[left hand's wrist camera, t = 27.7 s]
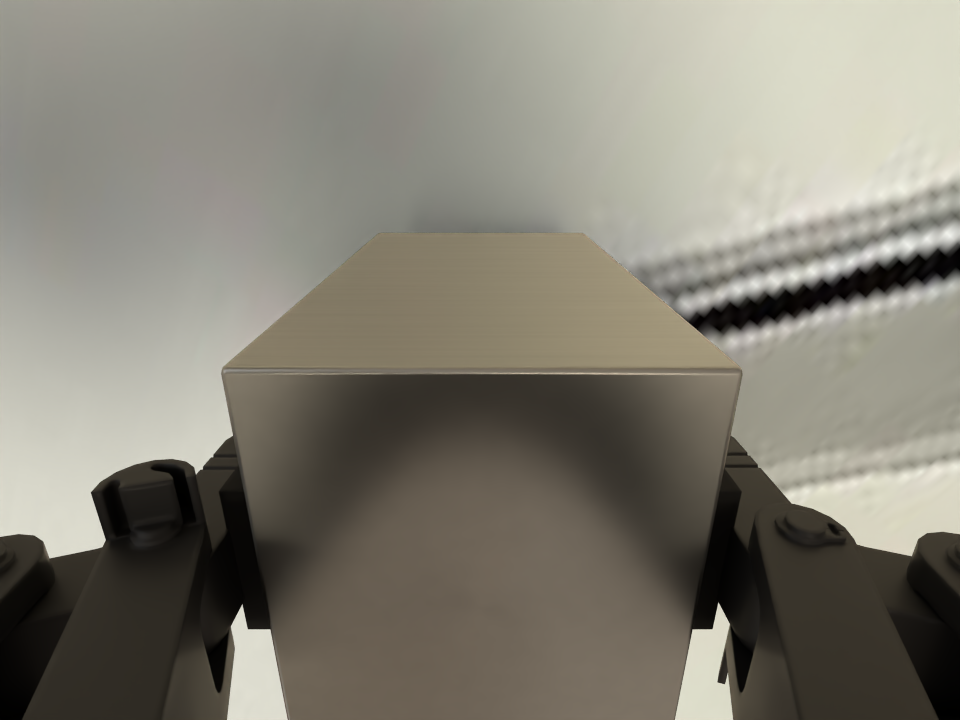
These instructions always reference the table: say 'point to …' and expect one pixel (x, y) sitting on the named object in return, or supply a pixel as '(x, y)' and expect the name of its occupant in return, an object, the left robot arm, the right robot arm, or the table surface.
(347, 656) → the brick
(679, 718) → the table surface
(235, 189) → the table surface
